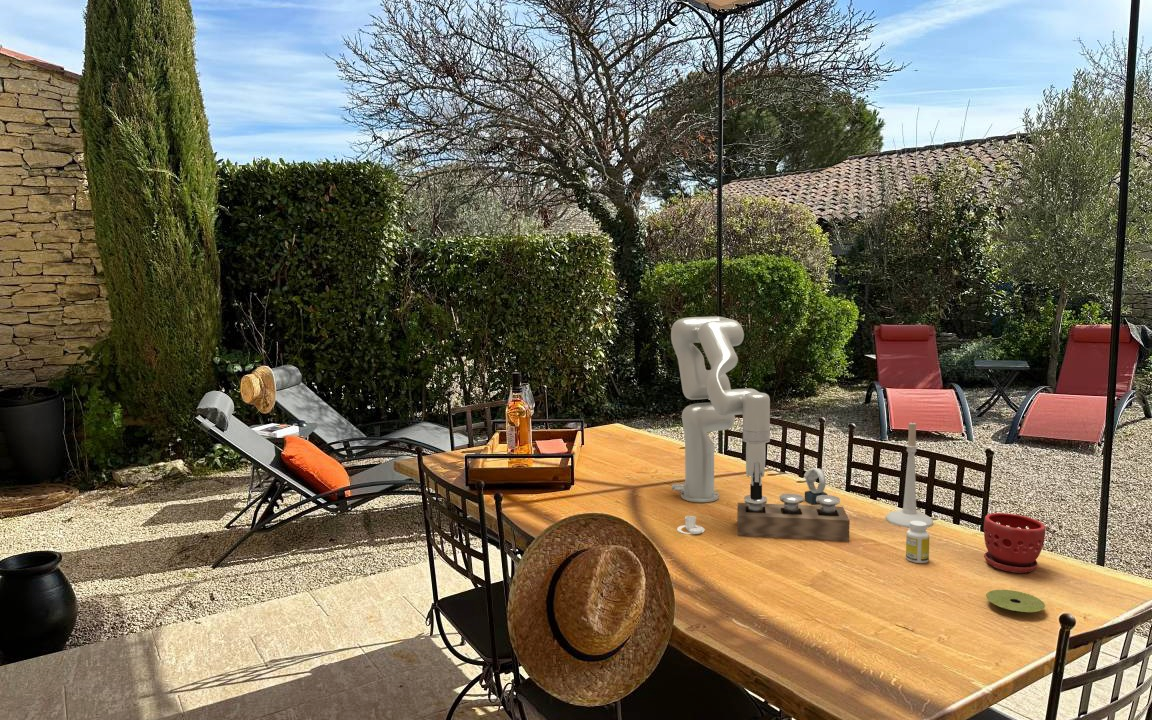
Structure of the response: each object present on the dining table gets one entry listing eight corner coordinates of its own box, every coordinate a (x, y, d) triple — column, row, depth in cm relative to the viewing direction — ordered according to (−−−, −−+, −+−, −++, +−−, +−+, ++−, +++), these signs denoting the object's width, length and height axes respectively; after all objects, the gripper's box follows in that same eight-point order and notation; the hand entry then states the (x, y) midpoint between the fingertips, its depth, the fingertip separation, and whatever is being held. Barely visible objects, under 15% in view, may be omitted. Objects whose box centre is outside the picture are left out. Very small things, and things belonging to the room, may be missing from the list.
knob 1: (744, 519, 213) (744, 500, 213) (743, 512, 219) (744, 494, 219) (767, 520, 212) (767, 501, 211) (766, 513, 218) (766, 495, 218)
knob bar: (738, 535, 211) (738, 515, 211) (737, 521, 223) (737, 502, 222) (849, 541, 205) (849, 520, 205) (842, 526, 217) (842, 506, 216)
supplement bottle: (927, 557, 193) (928, 520, 192) (929, 564, 188) (931, 527, 187) (904, 554, 195) (905, 518, 194) (906, 562, 190) (907, 525, 189)
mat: (1021, 624, 156) (1021, 615, 156) (974, 603, 167) (974, 594, 166) (1056, 613, 161) (1057, 605, 161) (1008, 593, 171) (1008, 585, 171)
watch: (816, 497, 245) (817, 464, 244) (830, 504, 237) (831, 471, 236) (801, 499, 244) (801, 466, 242) (814, 506, 236) (815, 472, 235)
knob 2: (817, 519, 209) (817, 501, 209) (814, 512, 215) (814, 494, 215) (841, 520, 208) (841, 502, 207) (837, 513, 214) (838, 495, 213)
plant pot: (1022, 581, 178) (1024, 532, 176) (970, 562, 189) (973, 517, 188) (1054, 570, 184) (1057, 523, 182) (1003, 552, 195) (1005, 508, 194)
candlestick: (876, 517, 224) (879, 420, 221) (907, 511, 229) (911, 415, 226) (910, 530, 213) (914, 428, 209) (943, 524, 218) (946, 423, 214)
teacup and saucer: (704, 537, 212) (704, 523, 211) (675, 536, 214) (675, 522, 213) (705, 527, 220) (704, 513, 220) (677, 525, 222) (677, 512, 222)
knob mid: (780, 518, 211) (780, 499, 211) (778, 511, 217) (779, 493, 217) (803, 519, 210) (804, 500, 209) (801, 512, 216) (802, 494, 215)
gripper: (742, 430, 221) (742, 490, 223) (743, 441, 206) (743, 505, 208) (768, 430, 219) (768, 491, 221) (771, 441, 205) (771, 506, 207)
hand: (756, 498), depth 215 cm, fingers closed
